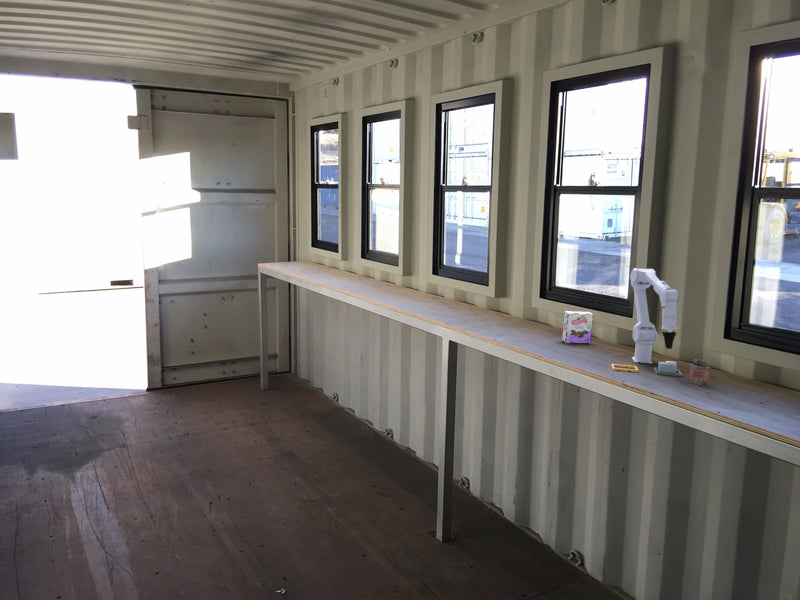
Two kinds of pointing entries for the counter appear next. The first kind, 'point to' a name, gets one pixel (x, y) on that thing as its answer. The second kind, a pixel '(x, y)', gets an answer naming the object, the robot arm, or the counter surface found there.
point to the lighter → (699, 372)
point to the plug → (667, 367)
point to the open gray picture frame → (667, 373)
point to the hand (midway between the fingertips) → (668, 348)
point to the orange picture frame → (624, 366)
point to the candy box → (577, 327)
